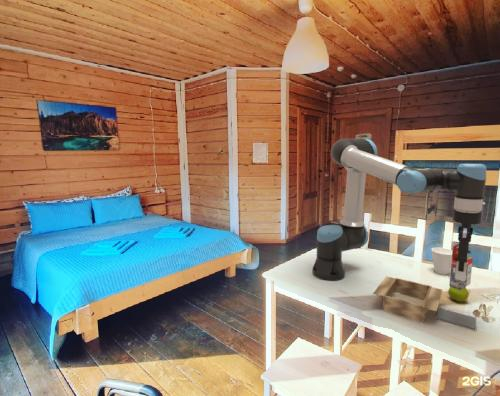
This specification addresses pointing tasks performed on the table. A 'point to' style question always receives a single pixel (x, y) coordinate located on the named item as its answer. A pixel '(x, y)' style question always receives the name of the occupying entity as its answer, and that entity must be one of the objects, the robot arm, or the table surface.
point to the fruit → (458, 294)
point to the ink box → (454, 282)
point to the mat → (456, 318)
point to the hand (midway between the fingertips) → (460, 275)
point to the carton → (412, 289)
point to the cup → (442, 260)
